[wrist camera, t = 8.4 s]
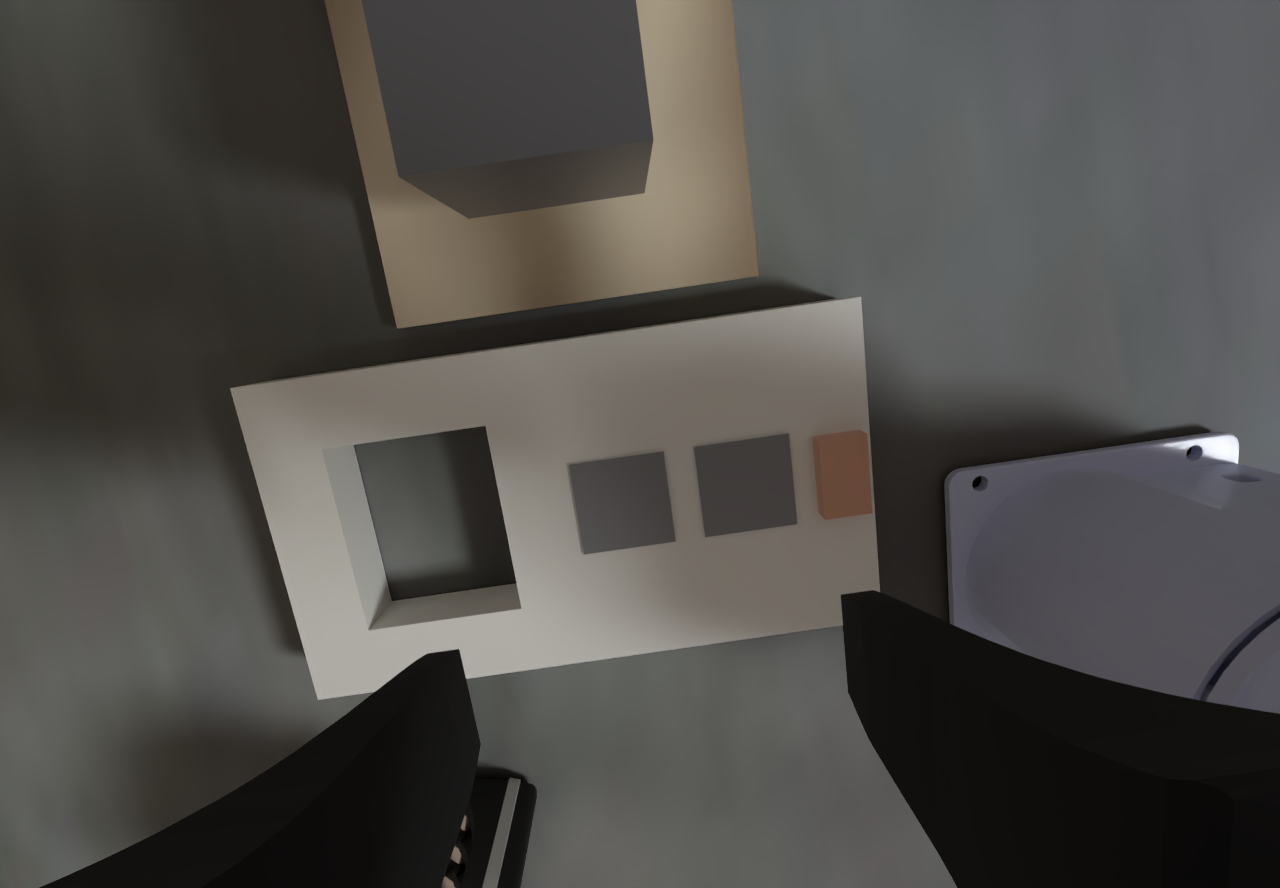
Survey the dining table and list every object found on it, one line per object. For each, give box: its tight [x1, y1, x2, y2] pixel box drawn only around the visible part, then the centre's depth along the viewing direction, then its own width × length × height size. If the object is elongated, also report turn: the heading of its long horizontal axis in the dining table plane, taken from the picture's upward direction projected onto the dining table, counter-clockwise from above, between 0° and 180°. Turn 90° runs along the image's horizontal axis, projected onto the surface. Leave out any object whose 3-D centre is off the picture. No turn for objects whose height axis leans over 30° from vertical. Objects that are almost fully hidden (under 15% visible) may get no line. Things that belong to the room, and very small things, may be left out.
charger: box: [362, 0, 654, 219], centre depth 14 cm, size 4×6×8 cm
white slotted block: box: [230, 297, 880, 700], centre depth 19 cm, size 18×10×3 cm, turn 98°
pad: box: [324, 0, 759, 329], centre depth 18 cm, size 11×11×1 cm
